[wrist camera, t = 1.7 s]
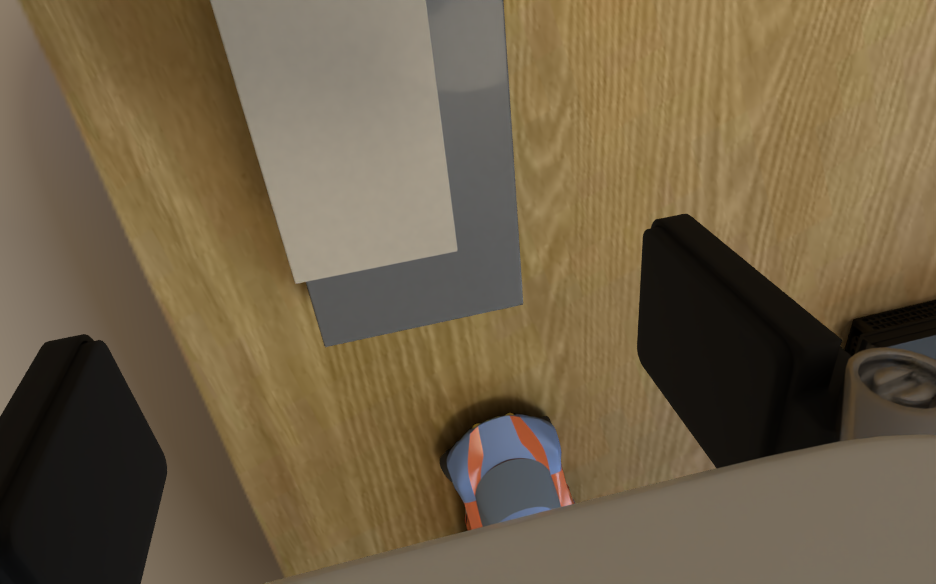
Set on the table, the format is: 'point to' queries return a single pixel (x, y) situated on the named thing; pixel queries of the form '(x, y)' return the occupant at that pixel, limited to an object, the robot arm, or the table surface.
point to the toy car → (507, 469)
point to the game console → (896, 330)
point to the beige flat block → (343, 128)
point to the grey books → (472, 195)
